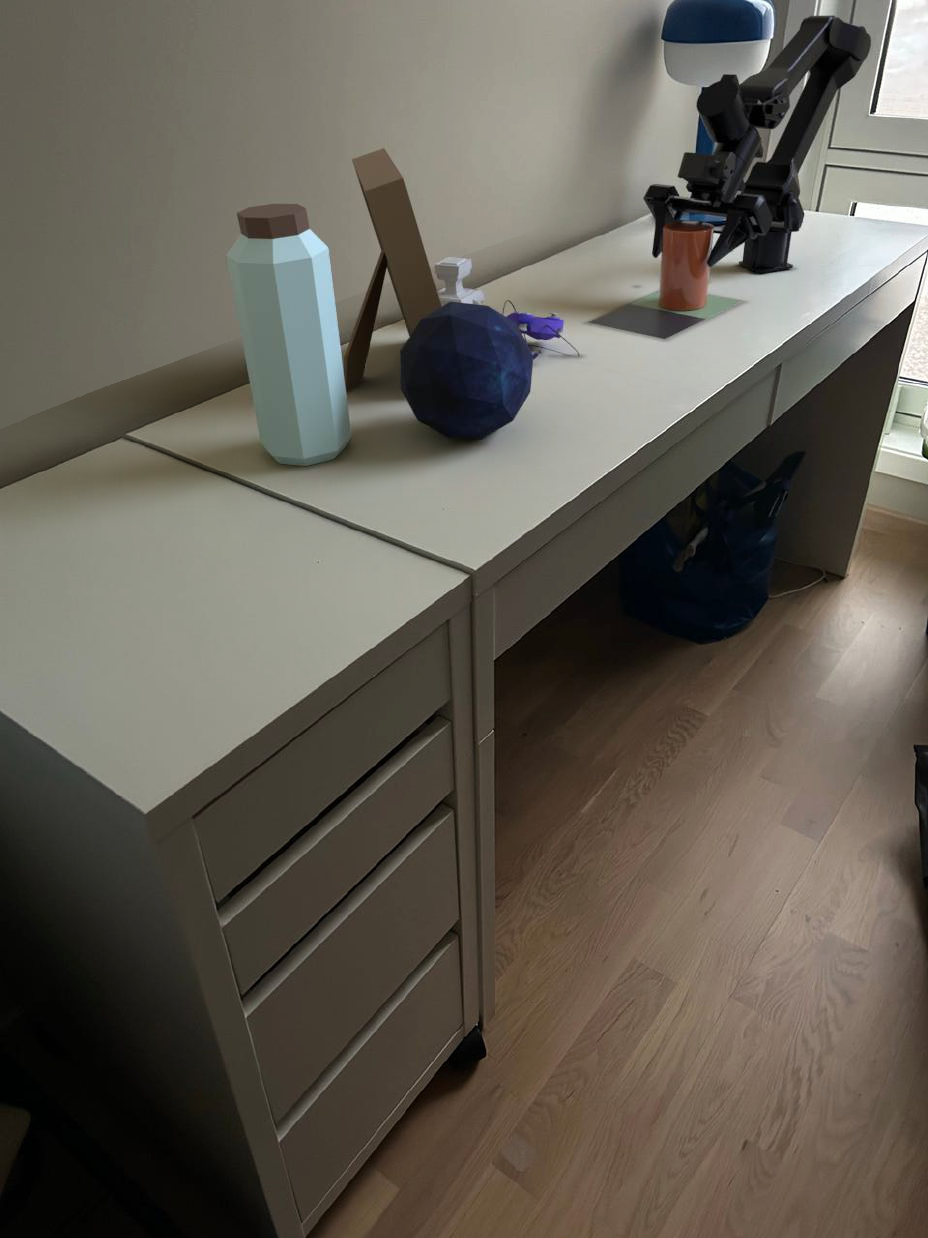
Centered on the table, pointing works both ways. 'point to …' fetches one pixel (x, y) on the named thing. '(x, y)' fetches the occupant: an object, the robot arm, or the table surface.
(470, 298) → the stamp
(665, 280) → the tumbler
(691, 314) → the desk mat
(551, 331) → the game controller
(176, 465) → the table surface
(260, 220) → the water bottle
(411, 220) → the photo frame
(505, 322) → the decorative orb
